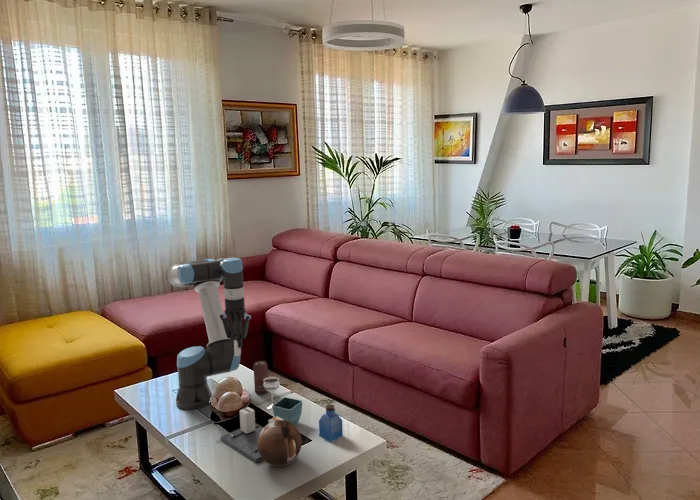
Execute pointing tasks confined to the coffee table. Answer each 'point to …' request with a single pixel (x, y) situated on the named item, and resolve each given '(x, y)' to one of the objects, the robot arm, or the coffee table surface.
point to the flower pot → (288, 409)
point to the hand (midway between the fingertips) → (237, 354)
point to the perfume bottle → (330, 425)
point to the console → (245, 442)
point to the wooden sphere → (279, 443)
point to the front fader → (274, 419)
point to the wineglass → (271, 387)
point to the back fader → (247, 420)
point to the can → (260, 376)
